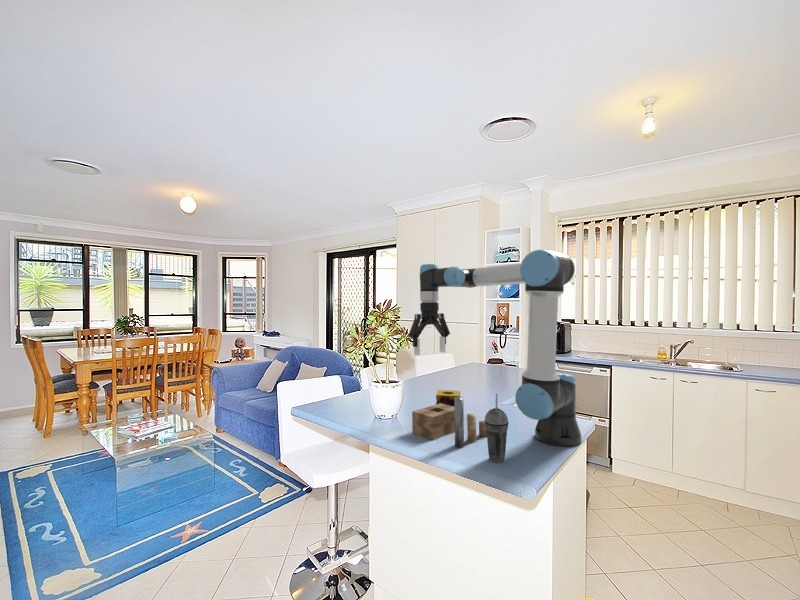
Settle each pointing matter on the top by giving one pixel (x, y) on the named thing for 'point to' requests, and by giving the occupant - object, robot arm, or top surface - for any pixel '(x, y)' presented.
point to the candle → (446, 397)
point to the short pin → (482, 429)
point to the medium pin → (471, 427)
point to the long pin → (459, 422)
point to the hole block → (434, 421)
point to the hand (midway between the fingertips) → (430, 353)
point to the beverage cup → (496, 433)
